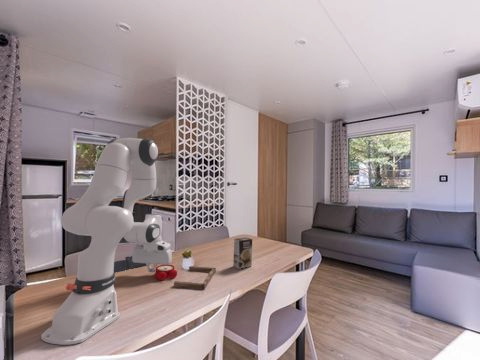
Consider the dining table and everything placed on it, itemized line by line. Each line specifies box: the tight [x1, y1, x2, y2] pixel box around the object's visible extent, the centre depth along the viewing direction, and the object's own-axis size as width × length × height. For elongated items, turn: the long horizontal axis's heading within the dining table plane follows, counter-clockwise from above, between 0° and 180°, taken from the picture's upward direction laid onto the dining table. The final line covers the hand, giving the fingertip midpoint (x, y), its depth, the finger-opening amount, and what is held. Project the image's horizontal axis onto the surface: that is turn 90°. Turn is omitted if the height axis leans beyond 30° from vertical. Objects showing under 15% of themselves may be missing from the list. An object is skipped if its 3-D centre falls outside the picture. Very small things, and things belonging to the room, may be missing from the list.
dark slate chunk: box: [114, 255, 147, 274], centre depth 134 cm, size 15×22×5 cm
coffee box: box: [232, 236, 253, 270], centre depth 137 cm, size 9×6×16 cm
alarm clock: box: [153, 264, 178, 282], centre depth 120 cm, size 10×6×15 cm
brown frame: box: [173, 265, 217, 290], centre depth 118 cm, size 22×14×2 cm, turn 173°
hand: (151, 271), depth 121 cm, fingers closed
